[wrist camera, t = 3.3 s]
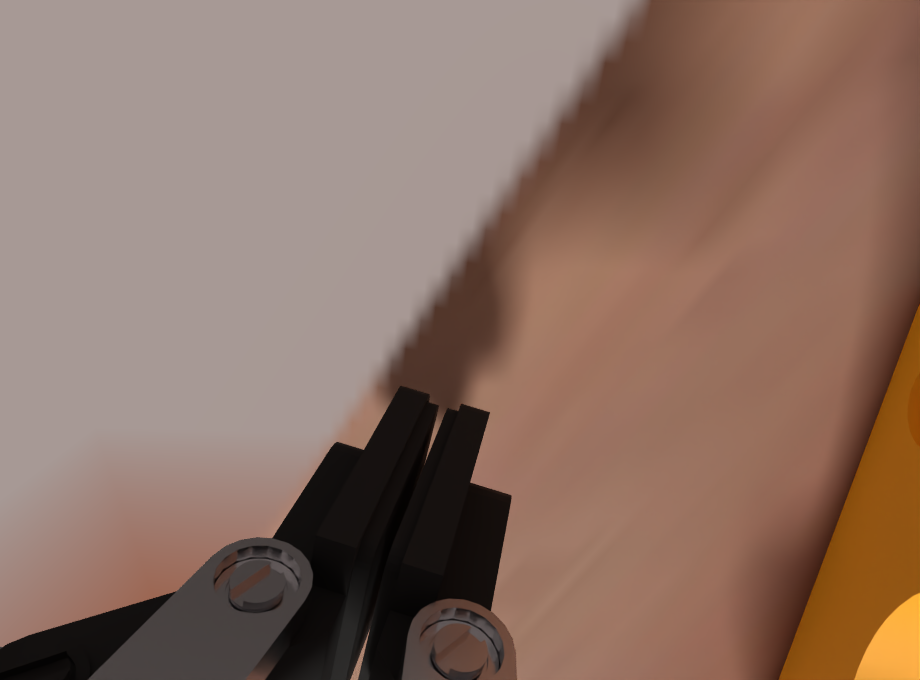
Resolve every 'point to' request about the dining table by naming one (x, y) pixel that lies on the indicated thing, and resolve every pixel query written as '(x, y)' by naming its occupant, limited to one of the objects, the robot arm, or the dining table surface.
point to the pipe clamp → (872, 554)
